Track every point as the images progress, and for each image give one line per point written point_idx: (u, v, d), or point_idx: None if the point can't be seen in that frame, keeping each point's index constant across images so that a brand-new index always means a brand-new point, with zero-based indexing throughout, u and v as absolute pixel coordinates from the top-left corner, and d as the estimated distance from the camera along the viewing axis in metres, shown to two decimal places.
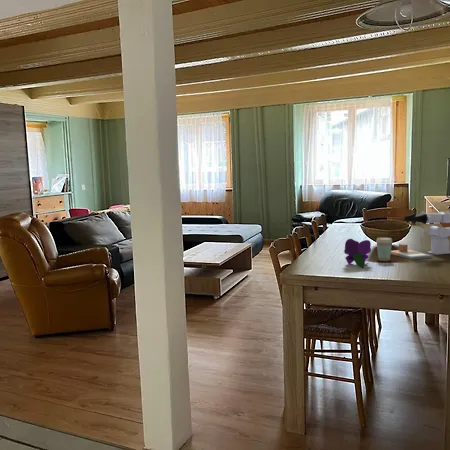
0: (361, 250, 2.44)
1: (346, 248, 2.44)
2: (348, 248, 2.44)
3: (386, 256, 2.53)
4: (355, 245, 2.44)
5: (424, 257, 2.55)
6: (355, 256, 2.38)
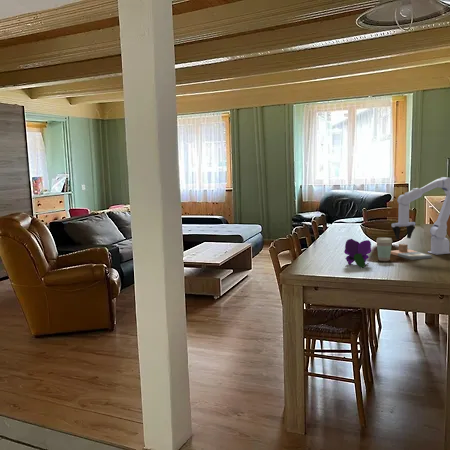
0: (361, 250, 2.43)
1: (346, 248, 2.44)
2: (349, 248, 2.44)
3: (386, 256, 2.53)
4: (355, 245, 2.43)
5: (424, 257, 2.55)
6: (355, 256, 2.37)
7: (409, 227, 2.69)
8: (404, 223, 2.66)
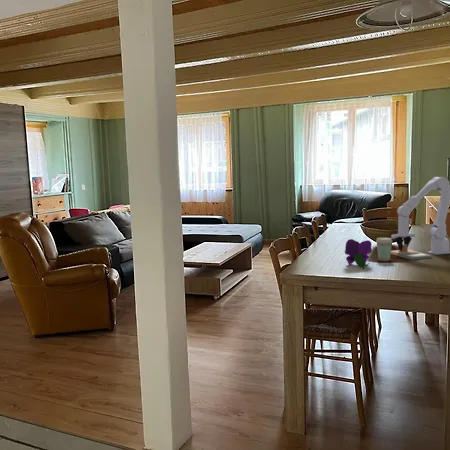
0: (362, 250, 2.43)
1: (347, 248, 2.43)
2: (349, 249, 2.43)
3: (386, 256, 2.53)
4: (356, 245, 2.43)
5: (424, 257, 2.55)
6: (356, 256, 2.36)
7: (406, 238, 2.70)
8: (404, 234, 2.66)
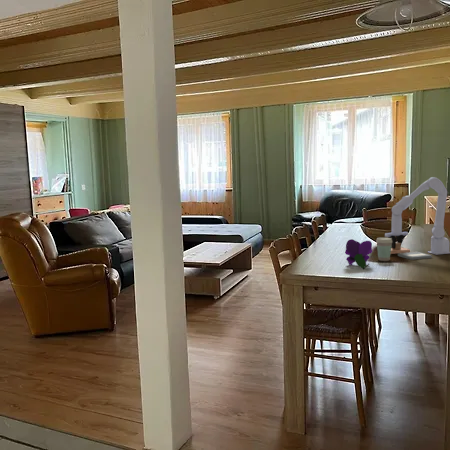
0: (362, 251, 2.42)
1: (347, 249, 2.42)
2: (350, 249, 2.42)
3: (386, 256, 2.53)
4: (356, 245, 2.42)
5: (424, 257, 2.55)
6: (356, 257, 2.36)
7: (399, 237, 2.76)
8: (397, 233, 2.73)
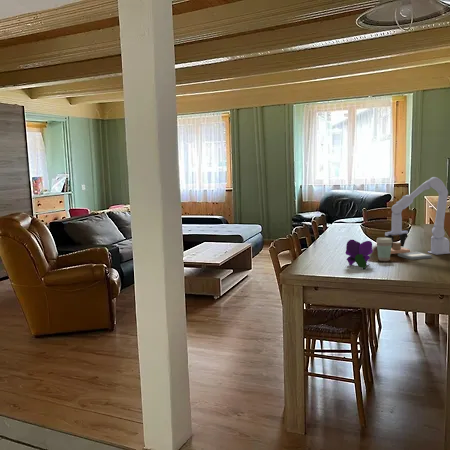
0: (363, 251, 2.41)
1: (347, 249, 2.42)
2: (350, 249, 2.42)
3: (386, 256, 2.53)
4: (356, 246, 2.41)
5: (424, 257, 2.55)
6: (357, 257, 2.35)
7: (402, 235, 2.76)
8: (397, 232, 2.73)
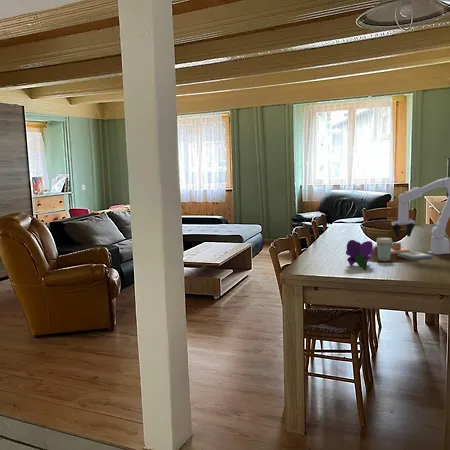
0: (363, 251, 2.41)
1: (348, 249, 2.41)
2: (350, 249, 2.41)
3: (386, 256, 2.53)
4: (357, 246, 2.40)
5: (424, 257, 2.55)
6: (357, 257, 2.34)
7: (409, 225, 2.73)
8: (404, 221, 2.70)
